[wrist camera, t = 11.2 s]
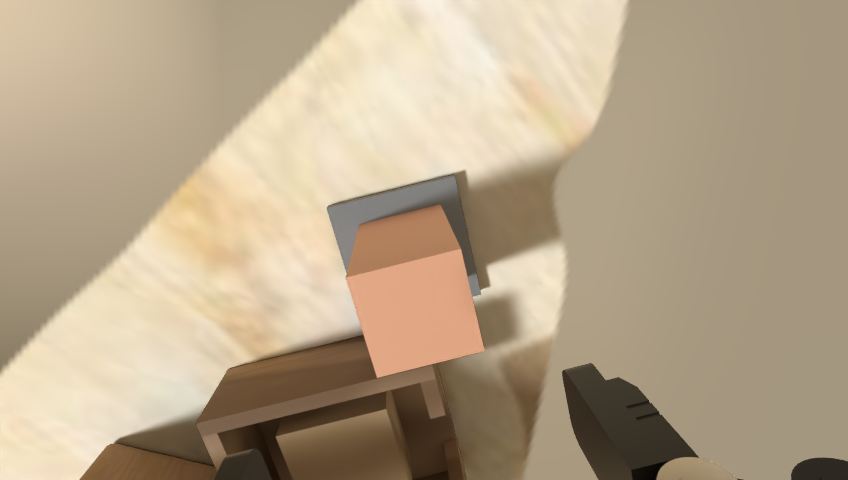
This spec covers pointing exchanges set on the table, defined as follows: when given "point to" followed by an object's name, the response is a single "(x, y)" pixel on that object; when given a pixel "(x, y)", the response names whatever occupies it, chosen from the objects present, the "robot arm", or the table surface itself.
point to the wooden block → (144, 466)
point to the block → (412, 292)
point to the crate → (334, 418)
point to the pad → (399, 202)
